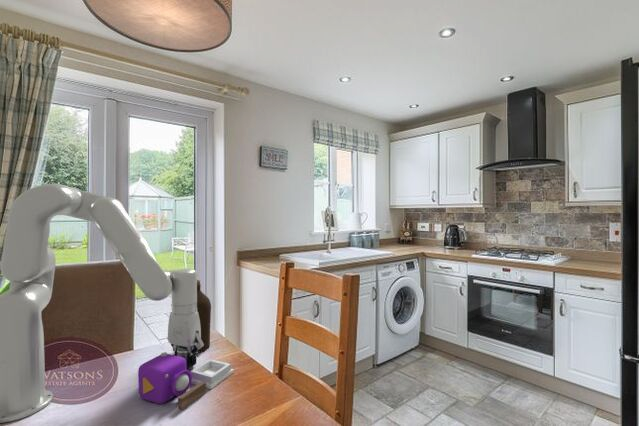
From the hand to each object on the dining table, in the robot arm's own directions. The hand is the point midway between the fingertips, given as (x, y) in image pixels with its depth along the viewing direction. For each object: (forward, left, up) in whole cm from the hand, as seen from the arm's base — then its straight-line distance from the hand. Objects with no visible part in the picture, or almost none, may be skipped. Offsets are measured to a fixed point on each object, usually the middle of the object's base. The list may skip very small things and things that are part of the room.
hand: (185, 363), depth 103 cm
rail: (+15, -12, -2) cm, 19 cm away
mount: (+11, -1, -2) cm, 11 cm away
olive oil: (-9, +13, -2) cm, 16 cm away
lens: (0, 0, -2) cm, 2 cm away
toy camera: (+6, -12, -2) cm, 14 cm away
